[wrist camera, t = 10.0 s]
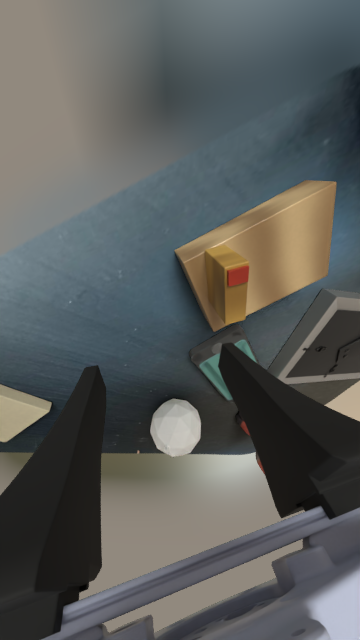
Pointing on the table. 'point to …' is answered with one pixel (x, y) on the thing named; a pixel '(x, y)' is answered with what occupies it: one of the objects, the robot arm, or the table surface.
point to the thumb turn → (227, 283)
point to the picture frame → (323, 341)
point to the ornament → (176, 427)
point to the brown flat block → (270, 246)
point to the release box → (19, 411)
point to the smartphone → (210, 353)
